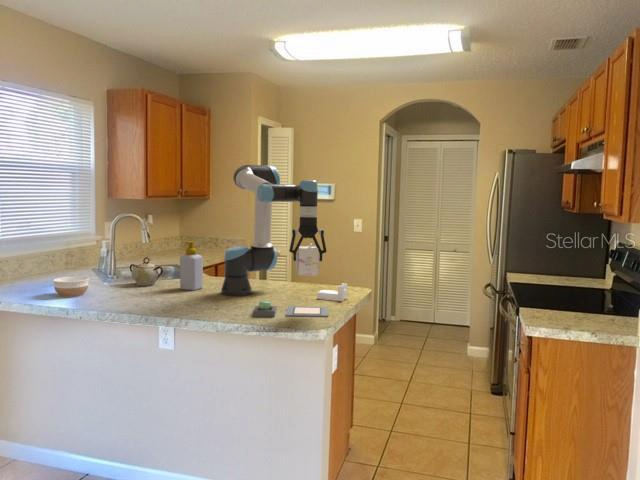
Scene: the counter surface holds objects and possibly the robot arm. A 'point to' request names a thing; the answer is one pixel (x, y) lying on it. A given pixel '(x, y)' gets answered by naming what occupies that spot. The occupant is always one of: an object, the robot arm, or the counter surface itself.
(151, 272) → the sugar bowl
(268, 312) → the button housing
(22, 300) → the counter surface
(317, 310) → the clipboard
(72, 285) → the bowl
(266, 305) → the button
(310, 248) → the ink box
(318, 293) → the bracket
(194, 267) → the soap bottle
